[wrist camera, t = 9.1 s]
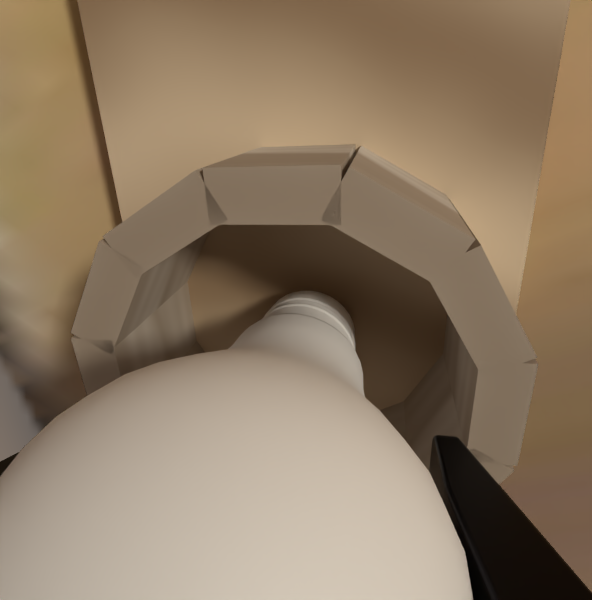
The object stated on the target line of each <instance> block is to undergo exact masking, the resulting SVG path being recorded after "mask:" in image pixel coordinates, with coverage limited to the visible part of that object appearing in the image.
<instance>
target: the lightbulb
mask: <svg viewBox="0 0 592 600" xmlns="http://www.w3.org/2000/svg"><path fill="white" fill-rule="evenodd" d="M355 344H356V343H355V329H354V325H353V321H352V319H351V317H350V315H349V313H348V312H347V311H346V309H345V308H344V307H343V306H342V305H341V304H340V303H339V302H338V301H337V300H335V299H333V298H332V297H330V296H328V295H325V294H323V293H320V292H315V291H298V292H293V293H290V294H288V295H285V296H284V297H282V298H281V299H279V300H278V301H277V302H276V303H275V304H274V305H273V306H272V308H271V309H270V310H269V311H268V312H267V313H266V314H265V316H264V317H263V318H262V319H261V320H259V321H258V322H256V323H254V324H253V325H251V326H250V327H248V328H247V329H246V330H245V331H244V332H243V333H242V334H241V335H240V336H239V338H238V339H237V340H236V341H235V343H234V344H233V345H232V346H231V347H230V348H228V349H227V350H220V351H213V352H206V353H199V354H194V355H189V356H185V357H180V358H175V359H171V360H166V361H161V362H157V363H155V364H152V365H149V366H146V367H144V368H141V369H138V370H135V371H133V372H130V373H127V374H124V375H123V376H121V377H119V378H117V379H116V380H114V381H112V382H110V383H109V384H107V385H105V386H103V387H102V388H100V389H98V390H96V391H95V392H93V393H91V394H89V395H88V396H86V397H84V398H83V399H81V400H80V401H79V402H77V403H76V404H74V405H73V406H71V407H70V408H68V409H67V410H65V411H64V412H62V413H61V414H59V415H58V416H56V417H55V418H54V419H53V420H52V421H51V422H50V423H49V424H48V425H47V426H46V427H45V428H44V429H43V430H41V431H40V432H39V433H38V434H37V435H36V436H35V437H34V438H33V439H32V440H31V441H30V442H29V443H28V444H27V445H26V446H25V447H23V449H22V450H21V451H20V452H19V454H18V455H17V456H16V457H15V459H14V460H13V461H12V462H11V464H10V465H9V466H8V467H7V469H6V470H5V471H4V472H3V474H2V475H1V476H0V600H474V599H473V593H472V588H471V582H470V577H469V571H468V566H467V560H466V555H465V551H464V548H463V546H462V544H461V541H460V539H459V537H458V535H457V532H456V530H455V528H454V525H453V523H452V521H451V518H450V516H449V514H448V512H447V509H446V507H445V505H444V503H443V500H442V498H441V496H440V494H439V492H438V489H437V487H436V485H435V483H434V481H433V479H432V476H431V474H430V472H429V471H428V469H427V468H426V467H425V466H424V464H423V463H422V462H421V460H420V459H419V458H418V456H417V455H416V454H415V452H414V451H413V450H412V449H411V447H410V446H409V445H408V443H407V442H406V441H405V439H404V438H403V437H402V436H401V435H400V434H399V432H398V431H397V430H396V429H395V428H394V427H393V425H392V424H391V423H390V422H389V421H388V420H387V418H386V417H385V416H384V415H383V414H382V413H381V411H380V410H379V409H378V408H376V407H375V406H374V405H373V404H372V403H371V402H370V401H369V400H367V399H366V398H365V395H364V389H363V371H362V367H361V362H360V360H359V358H358V356H357V354H356V351H355Z"/></svg>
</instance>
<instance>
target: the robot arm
mask: <svg viewBox="0 0 592 600" xmlns="http://www.w3.org/2000/svg"><path fill="white" fill-rule="evenodd" d="M18 454H19V453H16V454H14V455H12V456H10V457H9V458H7V459H5V460H3V461H1V462H0V476H1V475H2V474H3V472H4V471H5V470H6V469H7V467H8V466H9V465H10V464H11V462H12V461H13V460H14V459H15V457H16V456H17V455H18ZM429 472H430V474H431V476H432V479H433V481H434V483H435V485H436V487H437V489H438V492H439V494H440V496H441V498H442V500H443V503H444V505H445V507H446V509H447V512H448V514H449V516H450V518H451V521H452V523H453V525H454V528H455V530H456V532H457V535H458V537H459V539H460V541H461V544H462V546H463V548H464V551H465V555H466V560H467V566H468V571H469V577H470V582H471V588H472V593H473V599H474V600H592V592H591V591H590V590H589V589H588V588H587V587H586V585H585V584H584V583H583V582H582V581H581V580H580V578H579V577H578V576H577V575H576V574H575V573H574V571H573V570H572V569H571V568H570V567H569V566H568V564H567V563H566V562H565V561H564V560H563V559H562V557H561V556H560V555H559V554H558V553H557V552H556V550H555V549H554V548H553V547H552V546H551V545H550V543H549V542H548V541H547V540H546V539H545V538H544V536H543V535H542V534H541V533H540V532H539V531H538V529H537V528H536V527H535V526H534V525H533V524H532V523H531V521H530V520H529V519H528V518H527V517H526V516H525V514H524V513H523V512H522V511H521V510H520V509H519V507H518V506H517V505H516V504H515V503H514V502H513V500H512V499H511V498H510V497H509V496H508V495H507V493H506V492H505V491H504V490H503V489H502V488H501V486H500V485H499V484H498V483H497V482H496V481H495V479H494V478H493V477H492V476H491V475H490V474H489V472H488V471H487V470H486V469H485V468H484V467H483V465H482V464H481V463H480V462H479V461H478V460H477V458H476V457H475V456H474V455H473V454H472V453H471V451H470V450H469V449H468V448H467V447H466V446H465V444H464V443H463V442H462V441H461V440H460V439H459V438H458V437H455V436H445V435H435V436H434V437H433V440H432V448H431V457H430V467H429Z"/></svg>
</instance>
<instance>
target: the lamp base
mask: <svg viewBox="0 0 592 600" xmlns="http://www.w3.org/2000/svg"><path fill="white" fill-rule="evenodd" d="M77 2H78V7H79V12H80V17H81V22H82V27H83V32H84V37H85V41H86V46H87V51H88V56H89V61H90V66H91V71H92V76H93V81H94V86H95V91H96V95H97V100H98V105H99V110H100V115H101V120H102V125H103V130H104V135H105V140H106V145H107V149H108V154H109V159H110V164H111V169H112V174H113V179H114V184H115V189H116V194H117V199H118V203H119V208H120V213H121V218H122V223H121V224H119V225H118V226H116V227H115V228H114V229H112V230H111V231H109V232H108V233H107V234H105V235H104V236H103V237H104V239H103V240H101V241H99V243H98V246H97V250H96V253H95V256H94V259H93V263H92V266H91V269H90V272H89V275H88V279H87V282H86V285H85V288H84V292H83V295H82V298H81V301H80V305H79V308H78V311H77V314H76V317H75V321H74V324H73V327H72V330H71V333H72V334H74V336H73V337H72V338H71V341H72V344H73V348H74V351H75V355H76V358H77V362H78V365H79V369H80V373H81V376H82V380H83V383H84V387H85V390H86V394H87V396H88V395H89V394H91V393H93V392H95V391H96V390H98V389H100V388H102V387H103V386H105V385H107V384H109V383H110V382H112V381H114V380H116V379H117V378H119V377H121V376H123V375H124V374H127V373H130V372H133V371H135V370H138V369H141V368H144V367H146V366H149V365H152V364H155V363H157V362H161V361H166V360H171V359H175V358H180V357H185V356H189V355H194V354H199V353H206V352H213V351H220V350H227V349H228V348H230V347H231V346H232V345H233V344H234V343H235V341H236V340H237V339H238V338H239V336H240V335H241V334H242V333H243V332H244V331H245V330H246V329H247V328H248V327H250V326H251V325H253V324H254V323H256V322H258V321H259V320H261V319H262V318H263V317H264V316H265V314H266V313H267V312H268V311H269V310H270V309H271V308H272V306H273V305H274V304H275V303H276V302H277V301H278V300H279V299H281V298H282V297H284V296H285V295H288V294H290V293H293V292H298V291H315V292H320V293H323V294H325V295H328V296H330V297H332V298H333V299H335V300H337V301H338V302H339V303H340V304H341V305H342V306H343V307H344V308H345V309H346V311H347V312H348V313H349V315H350V317H351V319H352V321H353V325H354V329H355V343H356V344H355V351H356V354H357V356H358V358H359V360H360V362H361V367H362V371H363V389H364V395H365V398H366V399H367V400H369V401H370V402H371V403H372V404H373V405H374V406H375V407H376V408H378V409H379V410H380V411H381V413H382V414H383V415H384V416H385V417H386V418H387V420H388V421H389V422H390V423H391V424H392V425H393V427H394V428H395V429H396V430H397V431H398V432H399V434H400V435H401V436H402V437H403V438H404V439H405V441H406V442H407V443H408V445H409V446H410V447H411V449H412V450H413V451H414V452H415V454H416V455H417V456H418V458H419V459H420V460H421V462H422V463H423V464H424V466H425V467H426V468H427V469H428V471H429V467H430V457H431V448H432V440H433V437H434V436H435V435H445V436H455V437H458V438H459V439H460V440H461V441H462V442H463V443H464V444H465V446H466V447H467V448H468V449H469V450H470V451H471V453H472V454H473V455H474V456H475V457H476V458H477V460H478V461H479V462H480V463H481V464H482V465H483V467H484V468H485V469H486V470H487V471H488V472H489V474H490V475H491V476H492V477H493V478H494V479H495V481H496V482H497V483H498V484H500V483H501V482H502V481H503V480H505V479H506V478H507V477H508V476H509V475H510V474H511V473H512V472H513V471H514V468H513V465H515V466H517V465H518V460H519V455H520V450H521V445H522V441H523V436H524V431H525V426H526V421H527V416H528V411H529V407H530V402H531V397H532V392H533V387H534V382H535V378H536V373H537V368H538V363H537V361H536V359H535V358H537V356H536V354H535V352H534V350H533V348H532V346H531V344H530V342H529V340H528V338H527V336H526V334H525V332H524V330H523V328H522V326H521V324H520V322H519V320H518V318H517V316H516V312H517V306H518V300H519V294H520V288H521V283H522V277H523V271H524V265H525V260H526V254H527V248H528V242H529V237H530V231H531V225H532V219H533V214H534V208H535V202H536V196H537V191H538V185H539V179H540V173H541V167H542V162H543V156H544V150H545V144H546V139H547V133H548V127H549V121H550V116H551V110H552V104H553V98H554V93H555V87H556V81H557V75H558V70H559V64H560V58H561V52H562V46H563V41H564V35H565V29H566V23H567V18H568V12H569V6H570V0H77Z"/></svg>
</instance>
